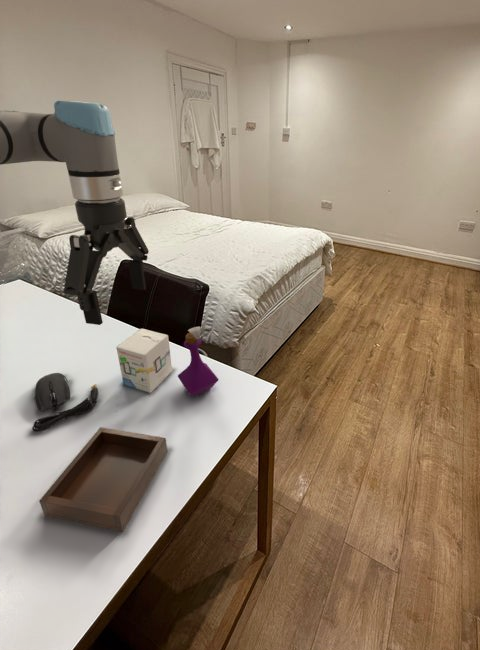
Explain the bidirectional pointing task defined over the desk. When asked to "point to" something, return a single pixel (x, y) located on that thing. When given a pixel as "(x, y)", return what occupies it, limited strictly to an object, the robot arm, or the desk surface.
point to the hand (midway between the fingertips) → (119, 304)
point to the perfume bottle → (196, 367)
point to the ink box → (145, 359)
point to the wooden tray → (106, 479)
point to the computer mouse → (58, 400)
